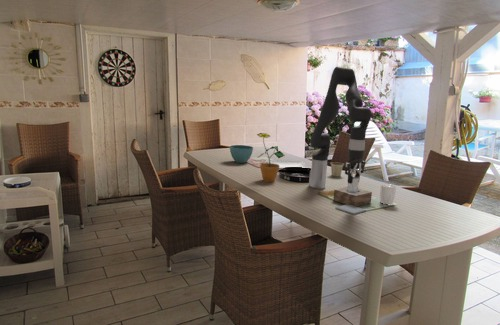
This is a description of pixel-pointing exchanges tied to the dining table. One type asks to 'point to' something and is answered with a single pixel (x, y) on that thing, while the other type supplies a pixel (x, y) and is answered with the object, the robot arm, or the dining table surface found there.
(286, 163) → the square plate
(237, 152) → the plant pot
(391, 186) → the white cup
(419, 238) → the dining table surface
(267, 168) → the potted plant
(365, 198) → the housing
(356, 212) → the mat
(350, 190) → the shiny metal cylinder
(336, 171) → the flower pot
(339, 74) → the robot arm
